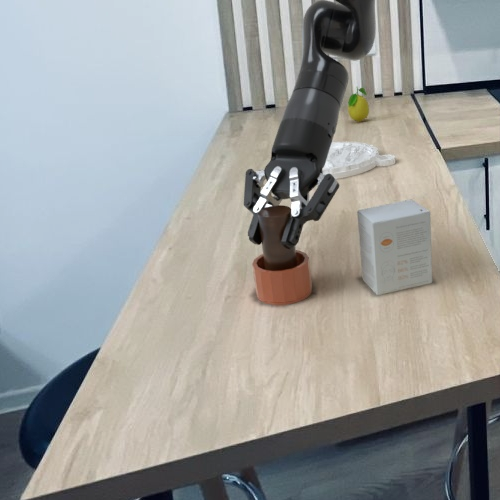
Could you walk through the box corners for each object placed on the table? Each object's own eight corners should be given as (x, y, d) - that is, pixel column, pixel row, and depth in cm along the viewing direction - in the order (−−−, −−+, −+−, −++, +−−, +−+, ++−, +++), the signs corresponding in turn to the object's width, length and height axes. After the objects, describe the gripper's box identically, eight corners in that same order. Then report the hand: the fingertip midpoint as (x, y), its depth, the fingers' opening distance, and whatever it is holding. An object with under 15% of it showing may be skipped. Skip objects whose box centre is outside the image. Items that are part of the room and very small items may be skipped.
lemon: (368, 118, 184) (365, 82, 180) (374, 122, 179) (372, 85, 175) (344, 122, 184) (342, 86, 180) (350, 126, 178) (348, 89, 174)
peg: (304, 275, 90) (297, 206, 86) (288, 289, 87) (280, 218, 83) (277, 270, 92) (269, 204, 89) (260, 284, 89) (251, 215, 85)
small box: (414, 269, 92) (412, 198, 88) (433, 284, 87) (431, 210, 83) (361, 280, 91) (356, 209, 87) (376, 297, 86) (372, 222, 82)
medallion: (291, 152, 160) (290, 143, 160) (403, 149, 150) (403, 138, 149) (258, 182, 141) (257, 171, 140) (385, 180, 130) (384, 169, 130)
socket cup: (321, 285, 91) (318, 252, 89) (294, 310, 85) (290, 276, 84) (275, 278, 95) (271, 246, 93) (246, 301, 90) (241, 268, 88)
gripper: (250, 115, 91) (211, 227, 87) (343, 116, 83) (306, 239, 79) (274, 142, 97) (239, 249, 93) (363, 145, 89) (329, 262, 85)
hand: (270, 244), depth 86 cm, fingers closed on peg, 4 cm apart
